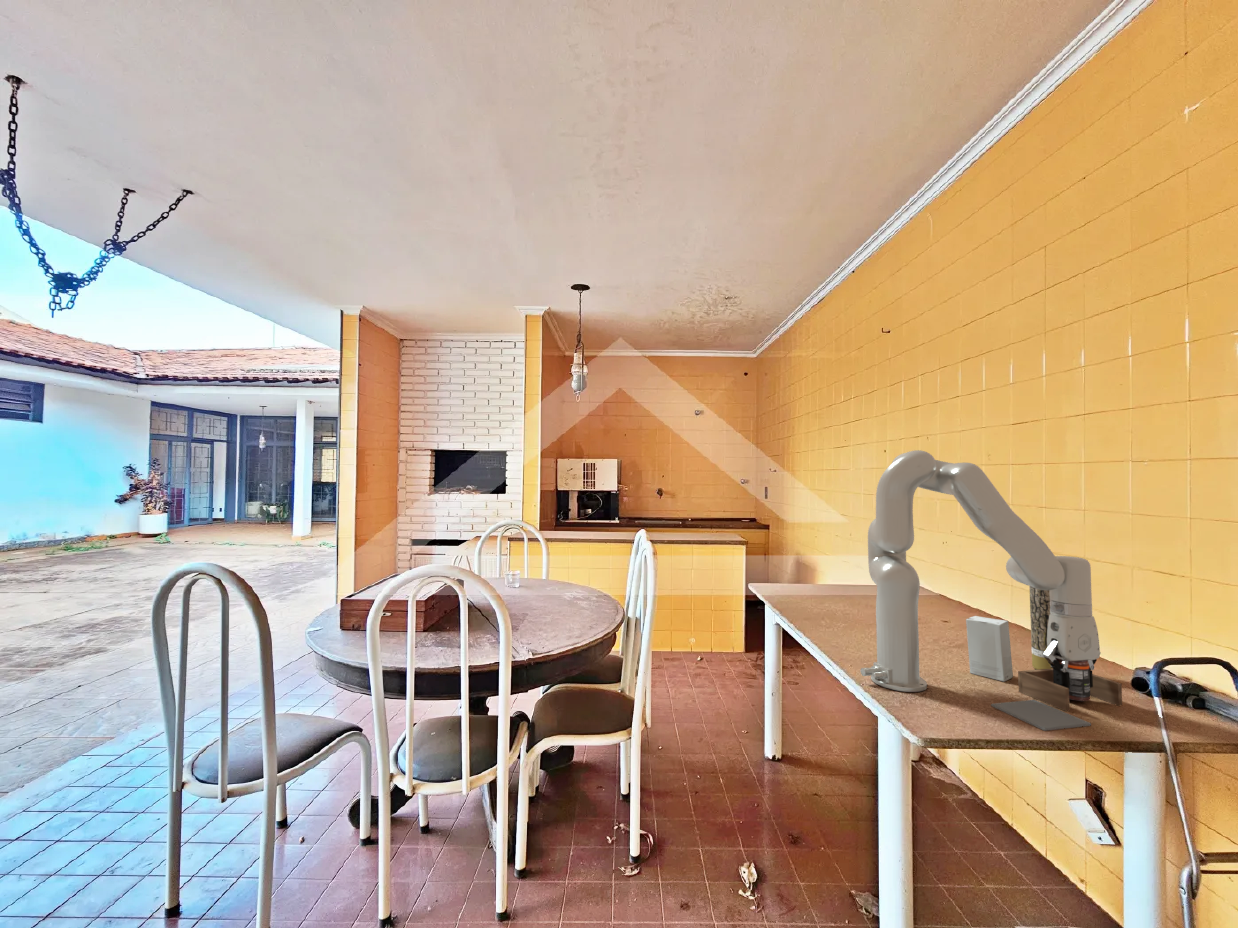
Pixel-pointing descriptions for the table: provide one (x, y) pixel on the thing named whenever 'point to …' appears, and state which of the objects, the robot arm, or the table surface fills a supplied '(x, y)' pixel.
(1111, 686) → the wooden open-sided frame
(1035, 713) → the grey mat
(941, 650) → the table surface
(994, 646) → the skincare box
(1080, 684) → the supplement bottle
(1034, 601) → the paper tube
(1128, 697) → the table surface
